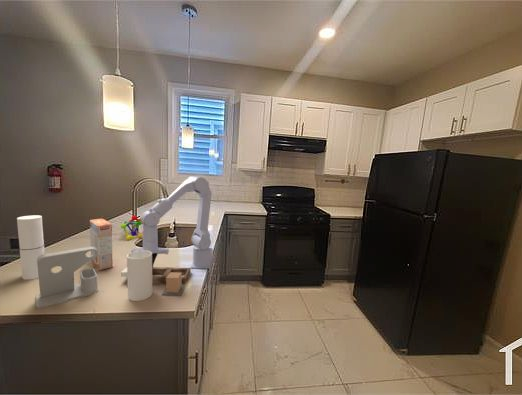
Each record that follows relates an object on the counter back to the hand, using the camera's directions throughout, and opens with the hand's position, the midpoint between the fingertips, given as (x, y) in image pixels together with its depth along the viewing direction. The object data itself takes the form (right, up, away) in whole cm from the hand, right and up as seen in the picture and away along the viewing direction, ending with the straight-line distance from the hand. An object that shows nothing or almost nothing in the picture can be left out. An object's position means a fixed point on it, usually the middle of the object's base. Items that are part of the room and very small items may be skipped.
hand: (150, 269), depth 100 cm
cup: (+2, -6, -12) cm, 14 cm away
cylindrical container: (-47, -2, -3) cm, 47 cm away
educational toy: (-35, +5, +51) cm, 62 cm away
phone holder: (-23, -5, -14) cm, 28 cm away
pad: (+13, -6, -8) cm, 17 cm away
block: (+13, -5, -8) cm, 16 cm away
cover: (-6, -1, 0) cm, 6 cm away
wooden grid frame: (+7, -4, +1) cm, 8 cm away
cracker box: (-28, -1, +11) cm, 30 cm away
